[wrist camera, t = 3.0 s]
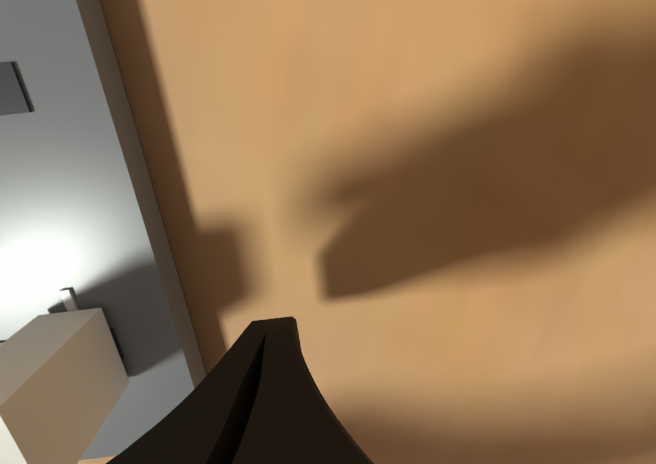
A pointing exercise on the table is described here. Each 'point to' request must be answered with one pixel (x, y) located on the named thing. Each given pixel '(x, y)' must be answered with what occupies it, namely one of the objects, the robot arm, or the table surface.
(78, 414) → the fader
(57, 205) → the console
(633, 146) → the table surface
